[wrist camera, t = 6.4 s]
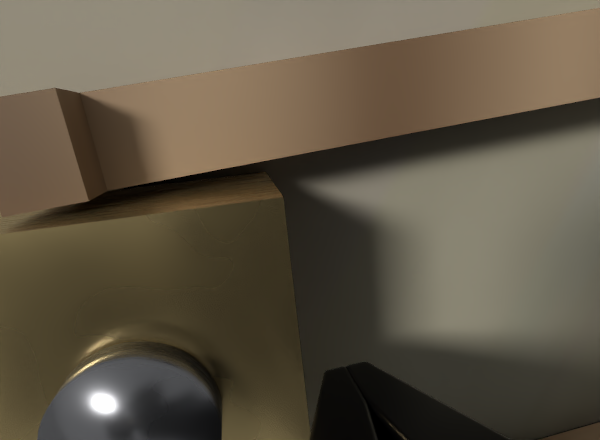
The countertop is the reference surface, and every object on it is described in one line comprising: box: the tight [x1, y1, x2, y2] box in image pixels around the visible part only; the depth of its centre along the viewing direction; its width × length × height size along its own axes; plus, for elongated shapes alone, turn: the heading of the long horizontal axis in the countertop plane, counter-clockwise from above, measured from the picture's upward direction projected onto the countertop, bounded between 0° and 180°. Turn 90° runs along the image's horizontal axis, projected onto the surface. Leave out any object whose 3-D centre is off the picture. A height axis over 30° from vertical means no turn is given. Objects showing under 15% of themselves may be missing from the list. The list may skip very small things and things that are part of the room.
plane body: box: [0, 8, 600, 440], centre depth 9 cm, size 14×12×2 cm
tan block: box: [0, 172, 311, 440], centre depth 8 cm, size 8×6×4 cm
